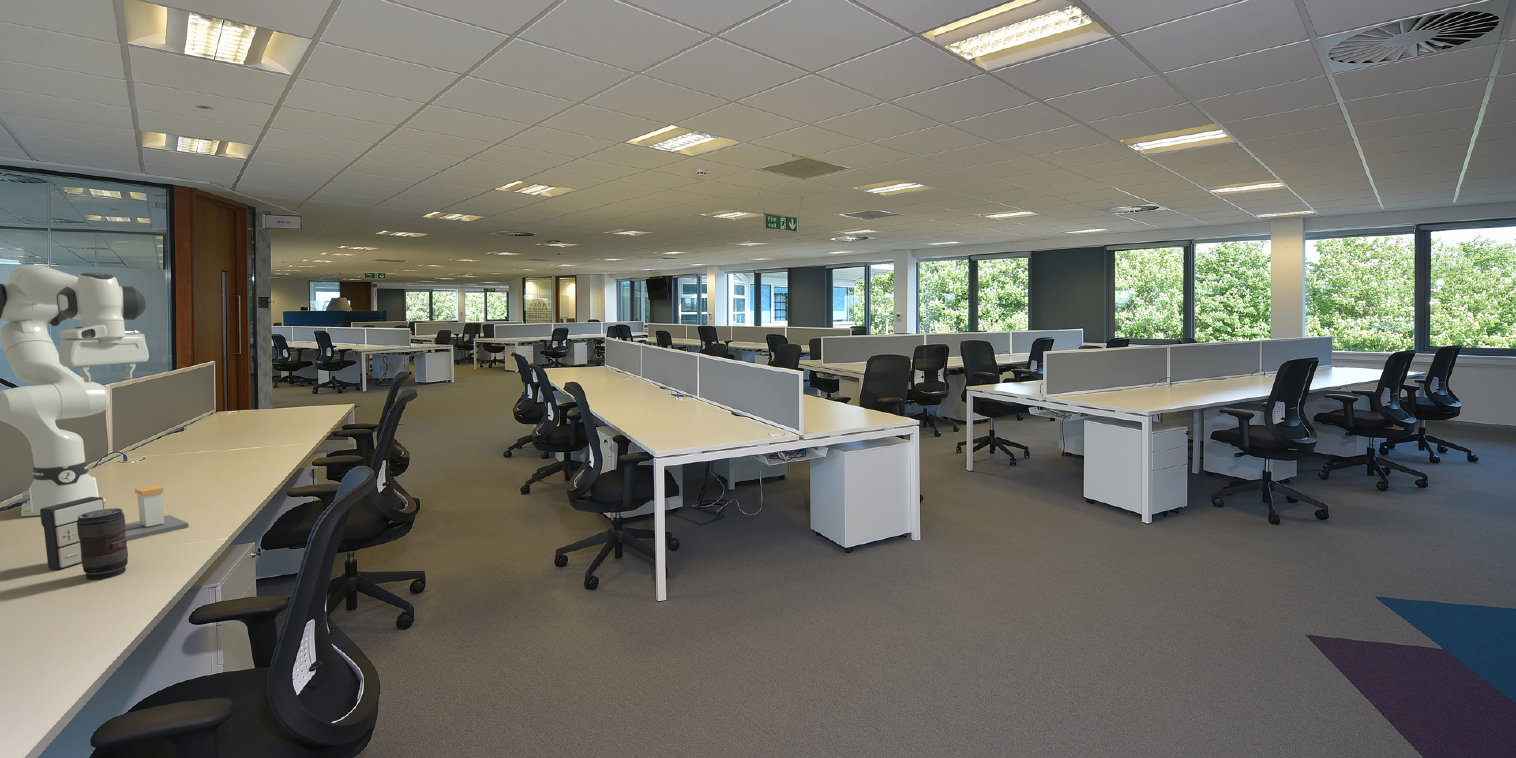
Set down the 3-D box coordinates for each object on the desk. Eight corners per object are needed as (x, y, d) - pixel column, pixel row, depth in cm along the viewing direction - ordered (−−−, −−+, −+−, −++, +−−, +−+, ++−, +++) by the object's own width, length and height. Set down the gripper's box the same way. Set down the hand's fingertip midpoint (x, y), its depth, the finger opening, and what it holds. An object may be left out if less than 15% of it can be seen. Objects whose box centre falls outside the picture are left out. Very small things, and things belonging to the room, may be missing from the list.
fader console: (57, 542, 183) (56, 537, 183) (169, 518, 203) (169, 514, 203) (73, 552, 175) (72, 547, 175) (188, 527, 195) (188, 522, 195)
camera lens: (126, 565, 167) (120, 505, 165) (132, 573, 162) (126, 511, 160) (80, 575, 161) (73, 513, 159) (85, 584, 156) (78, 520, 154)
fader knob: (138, 523, 194) (134, 488, 192) (158, 519, 197) (155, 485, 196) (145, 527, 191) (142, 491, 189) (166, 522, 194) (163, 487, 193)
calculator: (60, 570, 163) (53, 509, 162) (46, 569, 164) (39, 508, 163) (111, 554, 174) (105, 497, 172) (98, 553, 175) (92, 496, 173)
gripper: (135, 330, 202) (139, 376, 203) (51, 332, 182) (57, 384, 183) (152, 330, 201) (156, 377, 202) (69, 332, 181) (75, 384, 182)
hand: (108, 380), depth 193 cm, fingers open, 8 cm apart
